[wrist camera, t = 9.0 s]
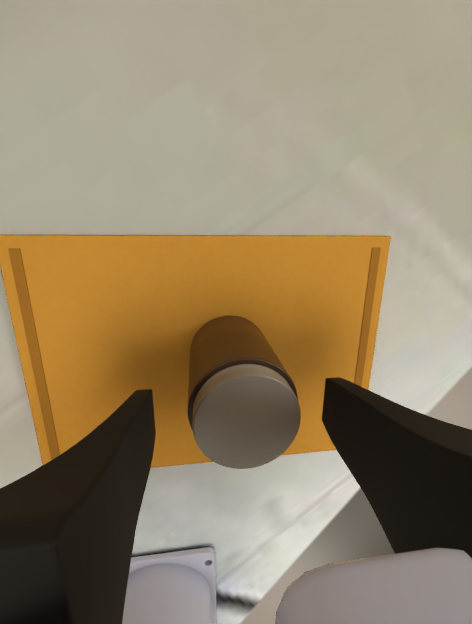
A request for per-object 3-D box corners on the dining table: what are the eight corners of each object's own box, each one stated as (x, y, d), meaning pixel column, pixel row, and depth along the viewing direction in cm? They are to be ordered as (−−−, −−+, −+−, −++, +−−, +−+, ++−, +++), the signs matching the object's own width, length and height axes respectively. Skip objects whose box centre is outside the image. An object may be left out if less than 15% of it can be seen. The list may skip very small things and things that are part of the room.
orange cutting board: (356, 443, 20) (360, 448, 20) (48, 472, 18) (44, 478, 17) (386, 236, 17) (391, 236, 16) (-2, 235, 14) (-8, 235, 14)
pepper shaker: (265, 383, 18) (302, 468, 11) (191, 388, 17) (189, 479, 11) (267, 313, 16) (311, 365, 10) (188, 316, 16) (184, 373, 10)
